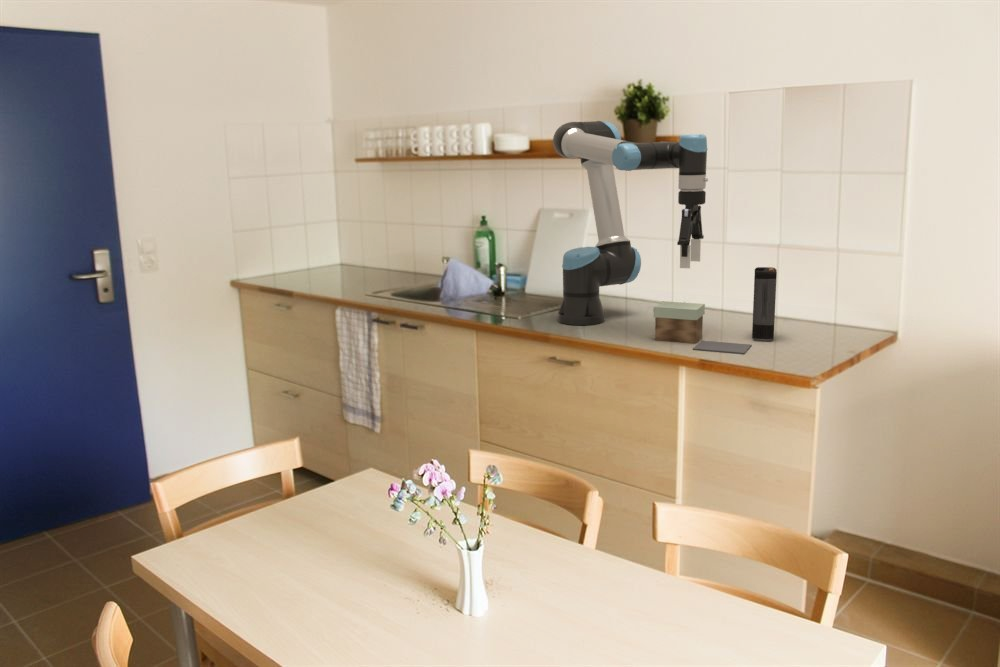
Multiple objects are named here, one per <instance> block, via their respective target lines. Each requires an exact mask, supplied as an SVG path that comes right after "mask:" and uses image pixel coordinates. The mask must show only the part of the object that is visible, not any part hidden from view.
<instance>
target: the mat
mask: <svg viewBox="0 0 1000 667" xmlns="http://www.w3.org/2000/svg"><path fill="white" fill-rule="evenodd" d="M752 346H753V345H752V344H749V343H739V342H738V343H736V342H727V341H726V342H724V341H723V342H722V341H713V340H712V341H711V340H700V341H699V342H697V343H696V344H695V346H694V347H692V351H701V352H713V353H723V354H725V353H726V354H736V355H745V354H746V353H748V351H749V350H750V349H751V347H752Z"/></svg>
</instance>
